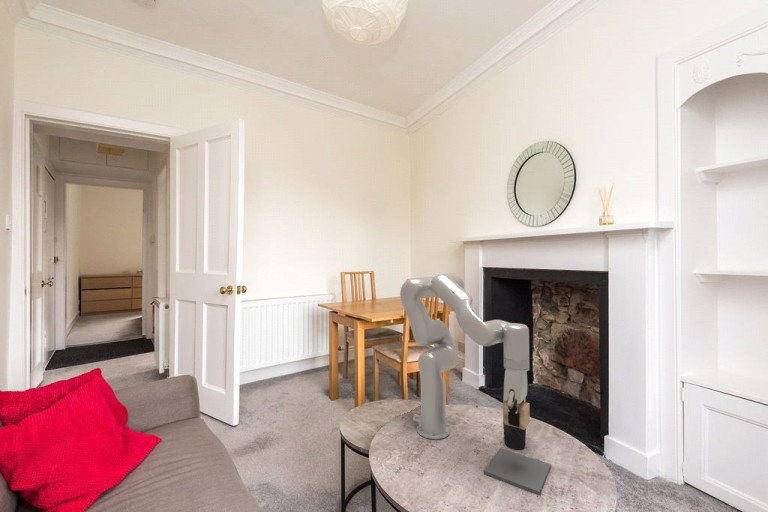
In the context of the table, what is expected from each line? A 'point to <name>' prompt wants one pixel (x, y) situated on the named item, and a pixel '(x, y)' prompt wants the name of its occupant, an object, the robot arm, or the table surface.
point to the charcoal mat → (518, 470)
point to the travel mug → (513, 434)
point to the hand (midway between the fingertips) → (517, 420)
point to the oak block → (523, 412)
